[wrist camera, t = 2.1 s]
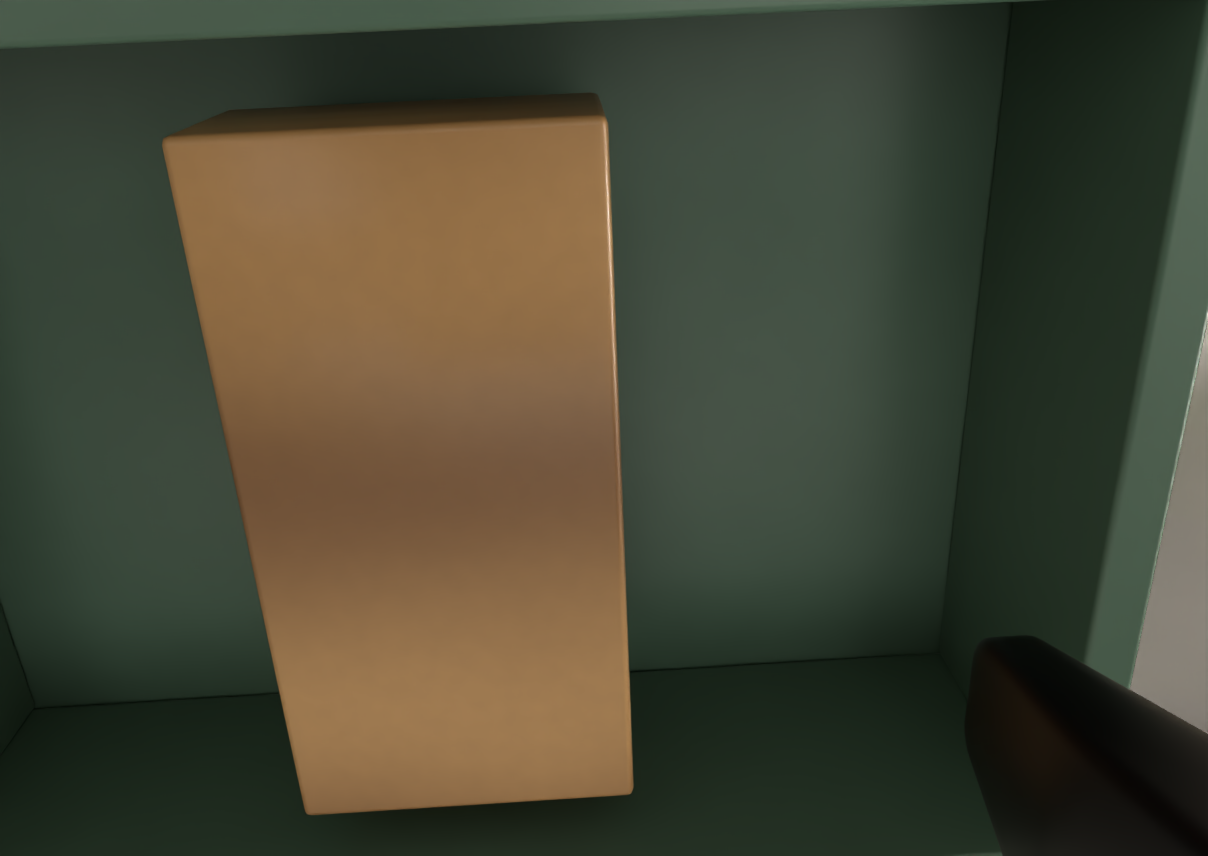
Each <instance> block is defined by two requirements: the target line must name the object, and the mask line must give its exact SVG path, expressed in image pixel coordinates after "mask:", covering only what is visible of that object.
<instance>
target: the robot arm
mask: <svg viewBox="0 0 1208 856" xmlns="http://www.w3.org/2000/svg"><path fill="white" fill-rule="evenodd" d="M964 728H965V740H966V746H967V750H968V754H969V757H970V760H971V763H972V766H973V769H974V772H975V775H976V778H977V781H978V784H979V787H980V790H981V793H982V796H983V799H984V802H985V805H986V808H987V811H988V814H989V817H990V820H991V822H992V825H993V828H994V831H995V834H996V837H997V840H998V843H999V846H1000V849H1001V852H1002V855H1003V856H1208V734H1207V733H1205V732H1203V731H1202V730H1200V729H1198V728H1196V727H1195V726H1193V725H1191V724H1189V723H1188V722H1186V721H1184V720H1182V719H1180V718H1179V717H1177V716H1175V715H1173V714H1172V713H1170V712H1168V711H1166V710H1165V709H1163V708H1161V707H1159V706H1158V705H1156V704H1154V703H1152V702H1151V701H1149V700H1147V699H1145V698H1143V697H1142V696H1140V695H1138V694H1136V693H1135V692H1133V691H1131V690H1129V689H1128V688H1126V687H1124V686H1122V685H1121V684H1119V683H1117V682H1115V681H1114V680H1112V679H1110V678H1108V677H1106V676H1105V675H1103V674H1101V673H1099V672H1098V671H1096V670H1094V669H1092V668H1091V667H1089V666H1087V665H1085V664H1084V663H1082V662H1080V661H1078V660H1077V659H1075V658H1073V657H1071V656H1069V655H1068V654H1066V653H1064V652H1062V651H1061V650H1059V649H1057V648H1055V647H1054V646H1052V645H1050V644H1048V643H1047V642H1045V641H1043V640H1041V639H1039V638H1037V637H1035V636H1031V635H1017V636H1001V637H987V638H984V639H983V640H981V641H980V642H979V643H978V644H977V646H976V648H975V651H974V655H973V661H972V668H971V676H970V684H969V691H968V699H967V706H966V714H965V724H964Z"/></svg>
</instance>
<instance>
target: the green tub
mask: <svg viewBox="0 0 1208 856" xmlns="http://www.w3.org/2000/svg"><path fill="white" fill-rule="evenodd" d="M589 92H592V93H595V94H597V95H598V97H599V99H600V102H601V104H602V107H603V110H604V113H605V116H606V119H607V122H608V131H609V157H610V183H611V209H612V235H613V261H614V287H615V313H616V339H617V365H618V391H619V417H620V443H621V469H622V495H623V521H624V547H625V573H626V599H627V625H628V651H629V677H630V703H631V729H632V755H633V781H634V788H633V790H632V793H631V794H628V795H619V796H603V797H588V798H572V799H557V800H541V801H525V802H510V803H494V804H479V805H463V806H448V807H432V808H416V809H401V810H385V811H370V812H354V813H339V814H323V815H308V814H307V813H306V812H305V809H304V805H303V800H302V795H301V791H300V786H299V781H298V777H297V772H296V767H295V763H294V758H293V753H292V749H291V744H290V740H289V735H288V730H287V726H286V721H285V716H284V712H283V707H282V702H281V698H280V693H279V688H278V684H277V679H276V674H275V670H274V665H273V660H272V656H271V651H270V646H269V642H268V637H267V632H266V628H265V623H264V618H263V614H262V609H261V604H260V600H259V595H258V590H257V586H256V581H255V577H254V572H253V567H252V563H251V558H250V553H249V549H248V544H247V539H246V535H245V530H244V525H243V521H242V516H241V511H240V507H239V502H238V497H237V493H236V488H235V483H234V479H233V474H232V469H231V465H230V460H229V455H228V451H227V446H226V441H225V437H224V432H223V428H222V423H221V418H220V414H219V409H218V404H217V400H216V395H215V390H214V386H213V381H212V376H211V372H210V367H209V362H208V358H207V353H206V348H205V344H204V339H203V334H202V330H201V325H200V320H199V316H198V311H197V306H196V302H195V297H194V292H193V288H192V283H191V279H190V274H189V269H188V265H187V260H186V255H185V251H184V246H183V241H182V237H181V232H180V227H179V223H178V218H177V213H176V209H175V204H174V199H173V195H172V190H171V185H170V181H169V176H168V171H167V167H166V162H165V157H164V153H163V148H162V142H163V138H165V137H167V136H169V135H171V134H174V133H176V132H178V131H181V130H183V129H185V128H188V127H190V126H192V125H195V124H197V123H200V122H202V121H204V120H207V119H209V118H211V117H214V116H216V115H218V114H221V113H223V112H226V111H228V110H237V109H258V108H278V107H299V106H320V105H340V104H361V103H382V102H403V101H423V100H444V99H465V98H485V97H506V96H527V95H548V94H568V93H589ZM1207 322H1208V0H0V856H1003V855H1002V852H1001V849H1000V846H999V843H998V840H997V837H996V834H995V831H994V828H993V825H992V822H991V820H990V817H989V814H988V811H987V808H986V805H985V802H984V799H983V796H982V793H981V790H980V787H979V784H978V781H977V778H976V775H975V772H974V769H973V766H972V763H971V760H970V757H969V754H968V750H967V746H966V740H965V728H964V724H965V714H966V706H967V699H968V691H969V684H970V676H971V668H972V661H973V655H974V651H975V648H976V646H977V644H978V643H979V642H980V641H981V640H983V639H984V638H987V637H1001V636H1017V635H1031V636H1035V637H1037V638H1039V639H1041V640H1043V641H1045V642H1047V643H1048V644H1050V645H1052V646H1054V647H1055V648H1057V649H1059V650H1061V651H1062V652H1064V653H1066V654H1068V655H1069V656H1071V657H1073V658H1075V659H1077V660H1078V661H1080V662H1082V663H1084V664H1085V665H1087V666H1089V667H1091V668H1092V669H1094V670H1096V671H1098V672H1099V673H1101V674H1103V675H1105V676H1106V677H1108V678H1110V679H1112V680H1114V681H1115V682H1117V683H1119V684H1121V685H1122V686H1124V687H1126V688H1128V689H1129V690H1130V685H1131V680H1132V675H1133V671H1134V666H1135V661H1136V657H1137V652H1138V647H1139V643H1140V638H1141V633H1142V628H1143V624H1144V619H1145V614H1146V610H1147V605H1148V600H1149V595H1150V591H1151V586H1152V581H1153V577H1154V572H1155V567H1156V562H1157V558H1158V553H1159V548H1160V544H1161V539H1162V534H1163V529H1164V525H1165V520H1166V515H1167V511H1168V506H1169V501H1170V496H1171V492H1172V487H1173V482H1174V478H1175V473H1176V468H1177V463H1178V459H1179V454H1180V449H1181V445H1182V440H1183V435H1184V430H1185V426H1186V421H1187V416H1188V412H1189V407H1190V402H1191V398H1192V393H1193V388H1194V383H1195V379H1196V374H1197V369H1198V365H1199V360H1200V355H1201V350H1202V346H1203V341H1204V336H1205V332H1206V327H1207Z"/></svg>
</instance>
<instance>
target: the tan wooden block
mask: <svg viewBox="0 0 1208 856" xmlns="http://www.w3.org/2000/svg"><path fill="white" fill-rule="evenodd" d="M162 148H163V153H164V157H165V162H166V167H167V171H168V176H169V181H170V185H171V190H172V195H173V199H174V204H175V209H176V213H177V218H178V223H179V227H180V232H181V237H182V241H183V246H184V251H185V255H186V260H187V265H188V269H189V274H190V279H191V283H192V288H193V292H194V297H195V302H196V306H197V311H198V316H199V320H200V325H201V330H202V334H203V339H204V344H205V348H206V353H207V358H208V362H209V367H210V372H211V376H212V381H213V386H214V390H215V395H216V400H217V404H218V409H219V414H220V418H221V423H222V428H223V432H224V437H225V441H226V446H227V451H228V455H229V460H230V465H231V469H232V474H233V479H234V483H235V488H236V493H237V497H238V502H239V507H240V511H241V516H242V521H243V525H244V530H245V535H246V539H247V544H248V549H249V553H250V558H251V563H252V567H253V572H254V577H255V581H256V586H257V590H258V595H259V600H260V604H261V609H262V614H263V618H264V623H265V628H266V632H267V637H268V642H269V646H270V651H271V656H272V660H273V665H274V670H275V674H276V679H277V684H278V688H279V693H280V698H281V702H282V707H283V712H284V716H285V721H286V726H287V730H288V735H289V740H290V744H291V749H292V753H293V758H294V763H295V767H296V772H297V777H298V781H299V786H300V791H301V795H302V800H303V805H304V809H305V812H306V813H307V814H308V815H323V814H339V813H354V812H370V811H385V810H401V809H416V808H432V807H448V806H463V805H479V804H494V803H510V802H525V801H541V800H557V799H572V798H588V797H603V796H619V795H628V794H631V793H632V790H633V788H634V781H633V755H632V729H631V703H630V677H629V651H628V625H627V599H626V573H625V547H624V521H623V495H622V469H621V443H620V417H619V391H618V365H617V339H616V313H615V287H614V261H613V235H612V209H611V183H610V157H609V131H608V122H607V119H606V116H605V113H604V110H603V107H602V104H601V102H600V99H599V97H598V95H597V94H595V93H592V92H589V93H568V94H548V95H527V96H506V97H485V98H465V99H444V100H423V101H403V102H382V103H361V104H340V105H320V106H299V107H278V108H258V109H237V110H228V111H226V112H223V113H221V114H218V115H216V116H214V117H211V118H209V119H207V120H204V121H202V122H200V123H197V124H195V125H192V126H190V127H188V128H185V129H183V130H181V131H178V132H176V133H174V134H171V135H169V136H167V137H165V138H163V142H162Z"/></svg>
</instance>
